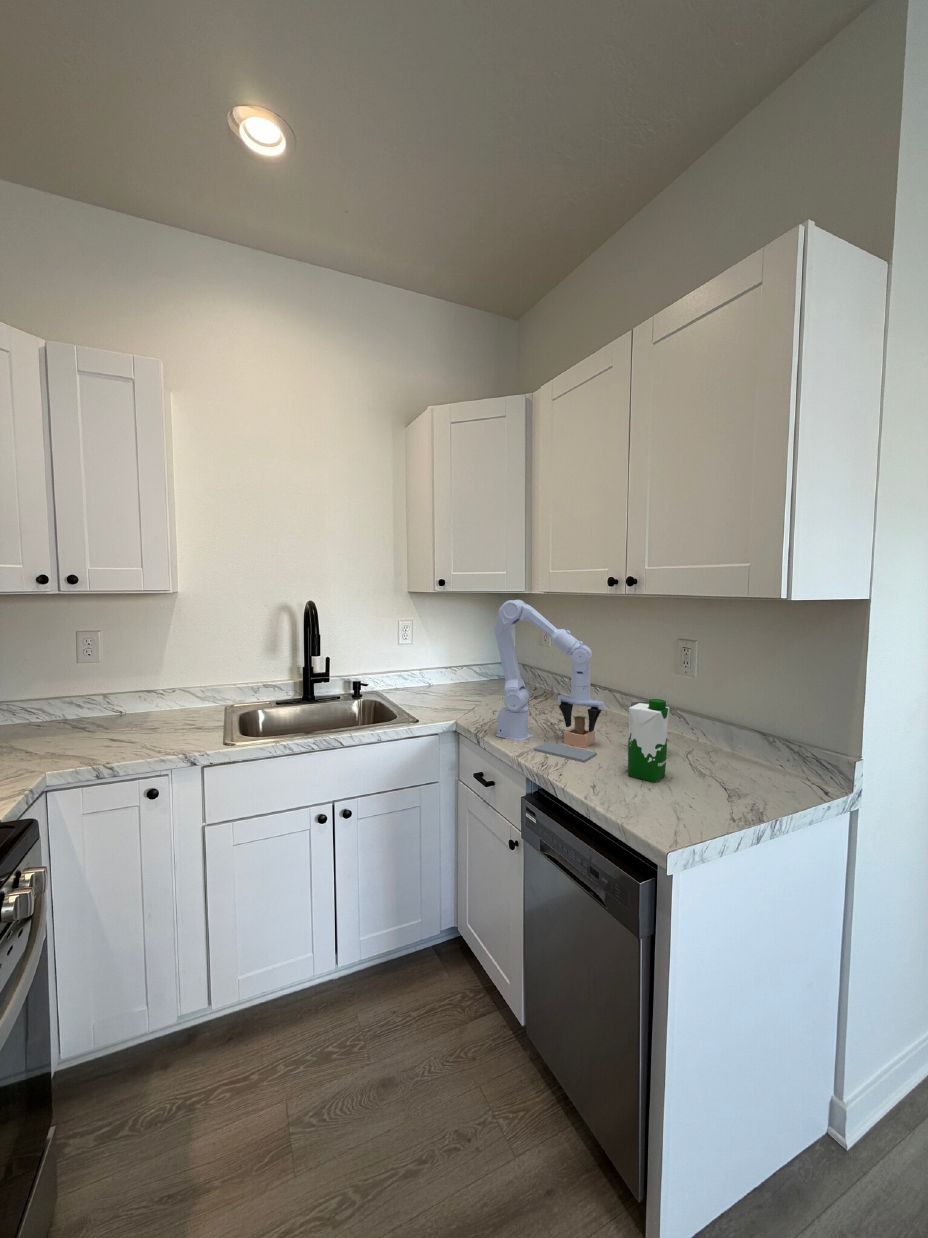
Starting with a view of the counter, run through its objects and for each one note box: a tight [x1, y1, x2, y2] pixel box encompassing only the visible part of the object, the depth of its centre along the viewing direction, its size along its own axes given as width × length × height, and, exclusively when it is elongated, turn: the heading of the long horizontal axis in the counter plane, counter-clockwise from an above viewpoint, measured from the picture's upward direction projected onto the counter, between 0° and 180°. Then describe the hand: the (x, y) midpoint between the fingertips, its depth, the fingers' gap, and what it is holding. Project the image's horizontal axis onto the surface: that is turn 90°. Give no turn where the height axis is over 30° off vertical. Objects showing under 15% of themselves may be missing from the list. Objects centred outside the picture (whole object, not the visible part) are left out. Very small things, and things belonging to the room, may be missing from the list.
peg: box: [574, 715, 586, 735], centre depth 158 cm, size 3×3×8 cm
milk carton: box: [627, 698, 670, 784], centre depth 132 cm, size 9×9×20 cm
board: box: [533, 741, 598, 764], centre depth 149 cm, size 16×8×1 cm, turn 52°
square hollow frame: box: [563, 726, 596, 749], centre depth 159 cm, size 7×7×4 cm
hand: (579, 728), depth 158 cm, fingers open, 7 cm apart
